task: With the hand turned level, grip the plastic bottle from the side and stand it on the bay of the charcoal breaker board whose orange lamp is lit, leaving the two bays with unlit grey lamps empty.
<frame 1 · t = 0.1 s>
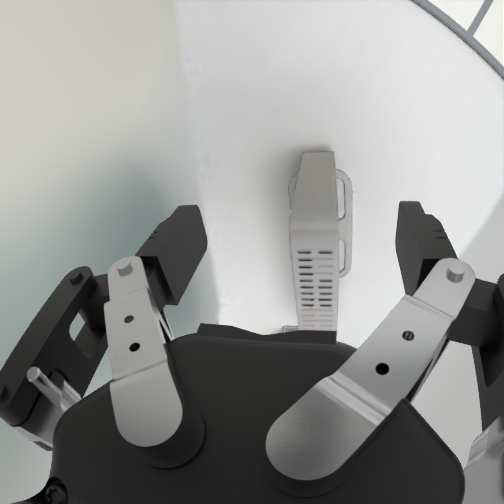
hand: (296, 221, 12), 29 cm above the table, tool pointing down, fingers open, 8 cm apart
network device: (322, 227, 46), on the table
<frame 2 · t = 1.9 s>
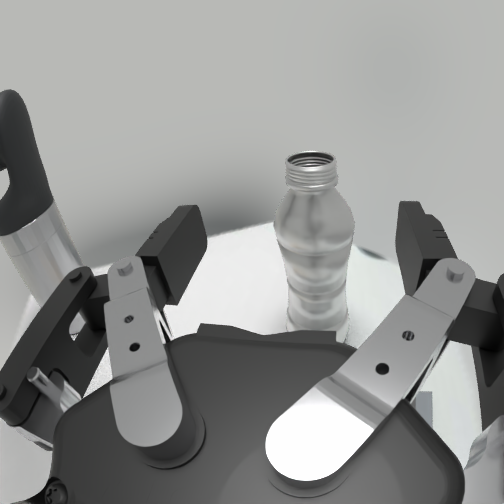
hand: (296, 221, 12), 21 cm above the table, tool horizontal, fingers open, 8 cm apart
breaker board: (261, 450, 24), on the table
plastic bottle: (317, 338, 33), on the table
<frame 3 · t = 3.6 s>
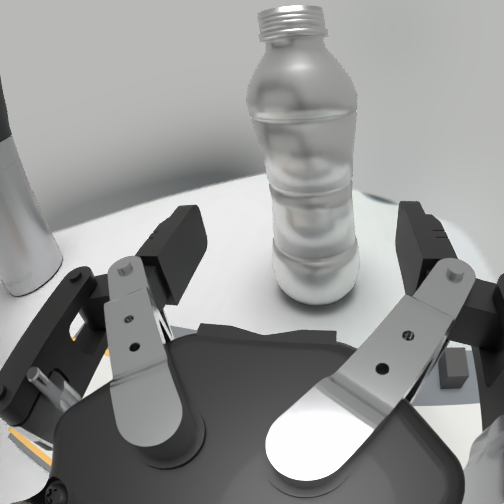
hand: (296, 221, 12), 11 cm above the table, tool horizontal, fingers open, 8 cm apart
breaker board: (230, 443, 15), on the table
plastic bottle: (316, 288, 25), on the table
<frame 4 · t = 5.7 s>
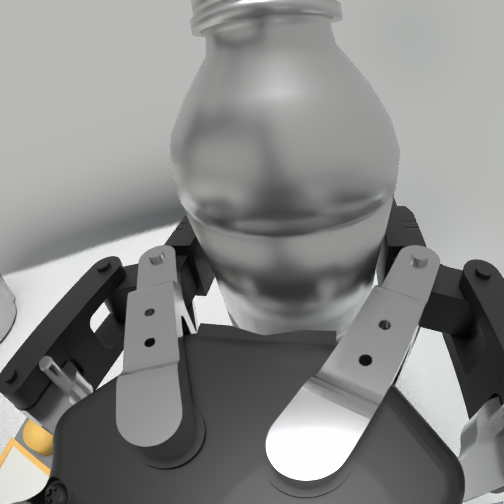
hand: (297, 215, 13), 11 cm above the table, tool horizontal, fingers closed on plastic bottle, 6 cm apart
plastic bottle: (302, 404, 17), on the table, touching gripper
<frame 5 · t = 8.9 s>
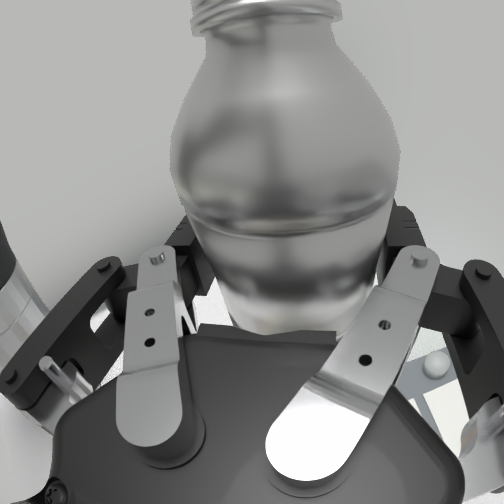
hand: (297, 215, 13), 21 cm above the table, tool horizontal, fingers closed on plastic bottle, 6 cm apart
breaker board: (376, 447, 21), on the table
plastic bottle: (303, 405, 17), point 10 cm above the table, touching gripper
when the fingers open (13 cm above the table, at t = 11.9 s): plastic bottle drops 1 cm, resting on breaker board.
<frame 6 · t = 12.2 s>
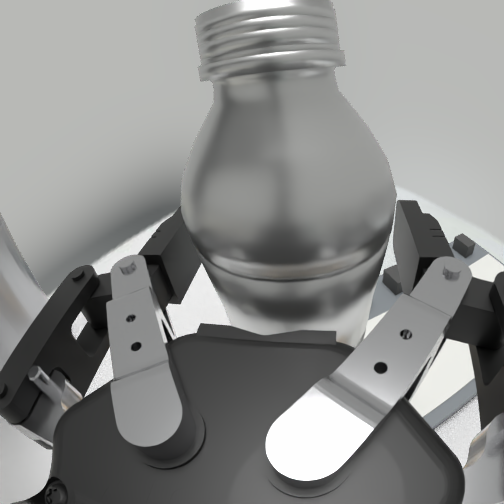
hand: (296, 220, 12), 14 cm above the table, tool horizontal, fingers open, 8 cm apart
breaker board: (408, 344, 22), on the table
plastic bottle: (304, 416, 18), point 1 cm above the table, touching breaker board
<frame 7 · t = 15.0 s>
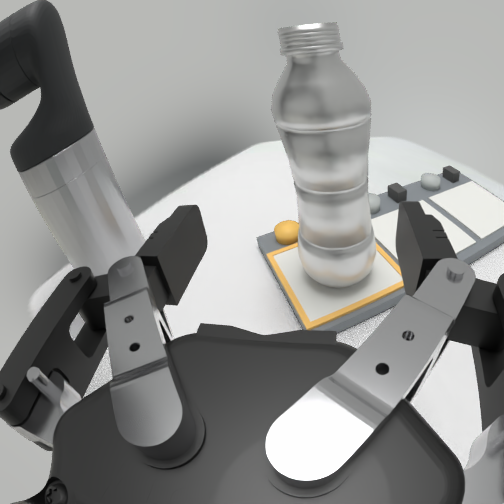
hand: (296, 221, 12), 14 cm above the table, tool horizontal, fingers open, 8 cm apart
breaker board: (409, 235, 30), on the table
plastic bottle: (338, 271, 27), point 1 cm above the table, touching breaker board
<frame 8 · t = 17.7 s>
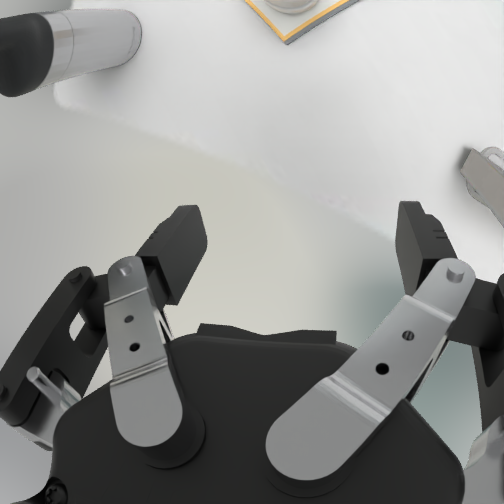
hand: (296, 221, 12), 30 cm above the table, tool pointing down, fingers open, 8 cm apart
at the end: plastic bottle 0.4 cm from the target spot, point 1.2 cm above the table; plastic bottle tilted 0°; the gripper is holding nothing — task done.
